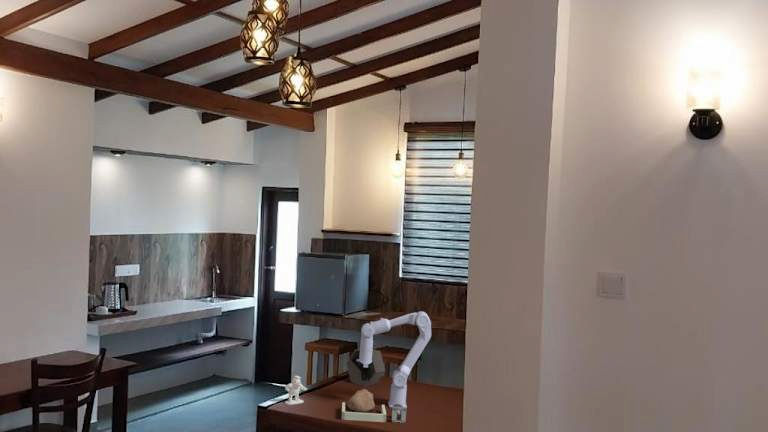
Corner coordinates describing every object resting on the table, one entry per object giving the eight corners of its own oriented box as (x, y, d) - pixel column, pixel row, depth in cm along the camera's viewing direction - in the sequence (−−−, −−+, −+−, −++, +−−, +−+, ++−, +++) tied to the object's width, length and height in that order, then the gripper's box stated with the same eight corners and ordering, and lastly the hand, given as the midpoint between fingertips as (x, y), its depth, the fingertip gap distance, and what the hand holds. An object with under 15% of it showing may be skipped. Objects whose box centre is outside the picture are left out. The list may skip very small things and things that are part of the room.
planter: (341, 370, 359) (360, 340, 353) (350, 369, 365) (370, 339, 359) (361, 394, 351) (381, 364, 344) (370, 392, 357) (390, 362, 350)
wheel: (391, 415, 298) (392, 403, 298) (403, 416, 298) (404, 404, 298) (392, 419, 292) (393, 406, 292) (404, 420, 292) (405, 407, 292)
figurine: (290, 406, 302) (293, 378, 303) (282, 402, 307) (284, 375, 307) (307, 403, 309) (309, 376, 309) (298, 400, 313) (300, 373, 314)
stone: (369, 411, 312) (360, 390, 315) (383, 404, 307) (373, 383, 309) (350, 419, 303) (341, 397, 305) (364, 413, 297) (354, 391, 300)
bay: (341, 409, 304) (342, 402, 304) (383, 411, 305) (384, 404, 305) (341, 419, 287) (342, 412, 287) (386, 422, 288) (386, 415, 288)
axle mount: (391, 420, 291) (392, 406, 291) (405, 421, 291) (406, 407, 292) (391, 422, 289) (393, 407, 289) (405, 422, 289) (406, 408, 290)
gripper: (357, 346, 324) (354, 376, 323) (357, 352, 309) (355, 383, 309) (372, 347, 324) (370, 377, 324) (373, 353, 309) (371, 384, 309)
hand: (363, 380), depth 316 cm, fingers closed
